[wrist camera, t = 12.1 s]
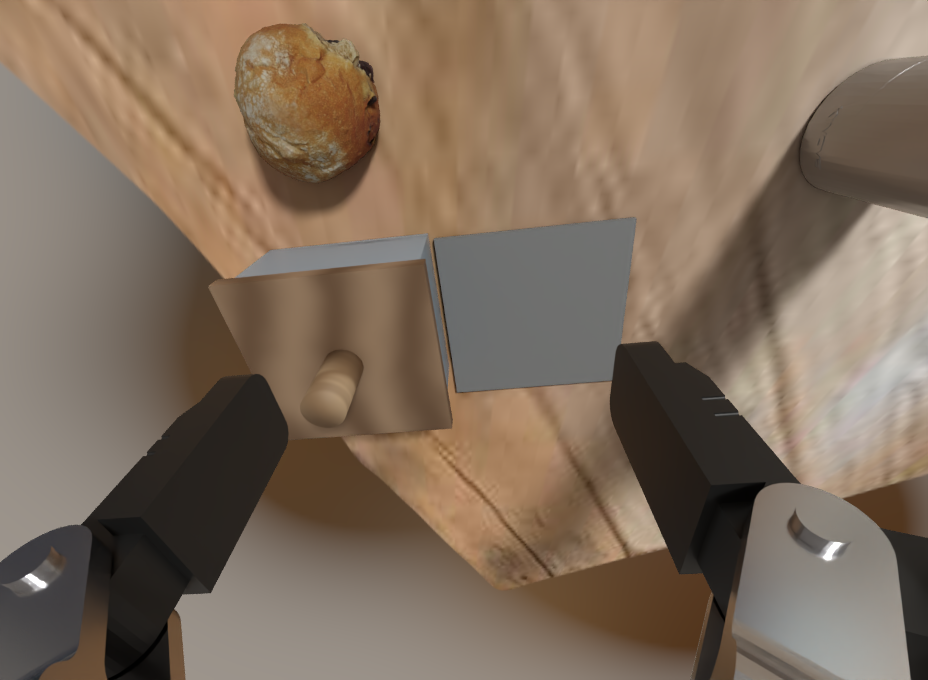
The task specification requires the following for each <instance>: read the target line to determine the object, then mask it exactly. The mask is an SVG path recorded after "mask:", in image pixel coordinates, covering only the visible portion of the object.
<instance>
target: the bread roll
mask: <svg viewBox="0 0 928 680" xmlns="http://www.w3.org/2000/svg"><path fill="white" fill-rule="evenodd" d="M235 71H236V78H235V89H234V97H235V99H236V101H237V103H238V106H239V108H240V111H241V113H242V115H243V117H244V124H245V126H246V128H247V131H248V134H249V136H250V139H251V141H252V143H253V145H254V146H255V148H256V150H257V151H258V153H259V154H260V156H261V157H262V158H263V159H264V160H265V161H266V162H267V163H268V164H269V165H270V166H272V167H273V168H274V169H276V170H277V171H279V172H280V173H282V174H284V175H286V176H289V177H291V178H294V179H297V180H299V181H305V182H311V183H319V182H322V181H326V180H328V179H330V178H333V177H335V176H336V175H339V174H340V173H342V172H343V171H344V170H347V169H349V168H350V167H351V166H353V165H354V164H356V163H357V162H358V160H359V159H360V158H362V157H364V156H365V154H366V153H367V152H368V151H369V150H370V149H371V148H372V146H373V145H374V142H375V138H376V135H377V132H378V130H379V126H380V110H379V104H378V94H377V90H376V87H375V85H374V80H373V69H372V66H371V65H369V63H367V62H365V61H359V52H358V51H357V50H356V49H355V47H354V45H353V44H352V42H351V41H348V40H347V39H344V38H343V39H342V40H341V41H338V40H334V41H333V40H325V39H324V38H323V37H322V36H321V34H319V33H318V32H316V31H314V30H313V29H312V28H311V27H309V26H308V25H307V24H306V23H303V24H299V25H296V24H294V25H292V24H277V25H273V26H269V27H264V28H262V29H261V30H259V31H257V32H256V33H254V34H252V35H251V36H250V37H249V38H248V39H247V40H246V42H245V43H244V45H243V46H242V47H241V50H240V53H239V55H238V58H237V63H236V68H235Z"/></svg>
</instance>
